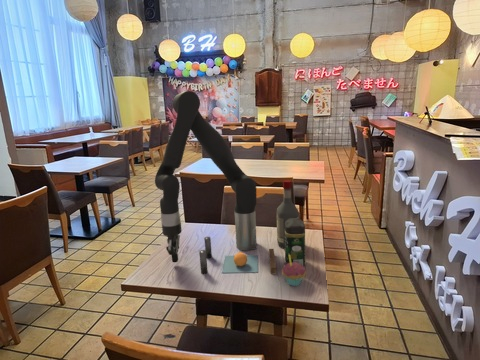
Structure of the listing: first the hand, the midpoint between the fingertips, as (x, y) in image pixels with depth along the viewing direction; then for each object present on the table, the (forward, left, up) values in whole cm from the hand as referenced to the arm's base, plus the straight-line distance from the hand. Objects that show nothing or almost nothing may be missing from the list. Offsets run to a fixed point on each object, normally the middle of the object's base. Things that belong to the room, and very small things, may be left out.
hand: (175, 261), depth 131 cm
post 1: (-13, +6, -2) cm, 14 cm away
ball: (-27, +1, +1) cm, 27 cm away
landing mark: (-27, 0, -2) cm, 27 cm away
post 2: (-13, -6, -2) cm, 14 cm away
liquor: (-48, -17, -2) cm, 51 cm away
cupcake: (-47, +14, -2) cm, 49 cm away
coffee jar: (-49, +1, -2) cm, 49 cm away
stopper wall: (-40, 0, -2) cm, 40 cm away
